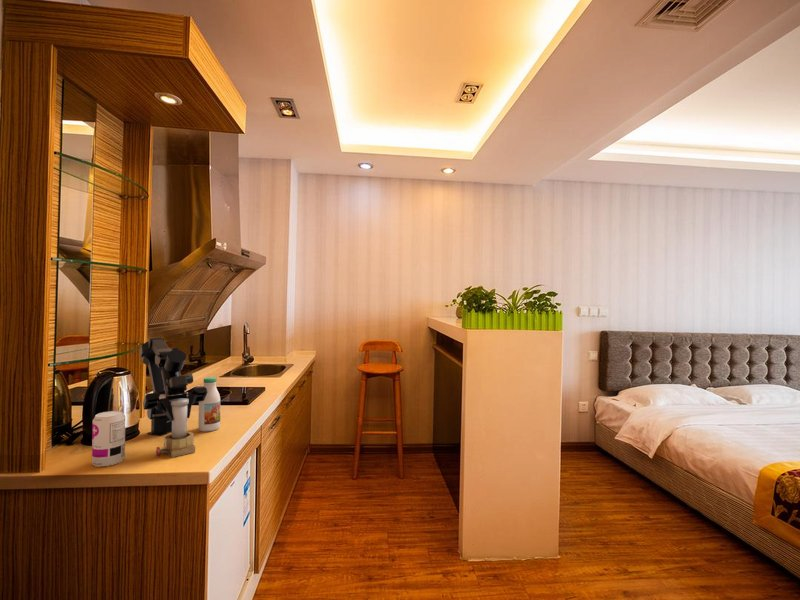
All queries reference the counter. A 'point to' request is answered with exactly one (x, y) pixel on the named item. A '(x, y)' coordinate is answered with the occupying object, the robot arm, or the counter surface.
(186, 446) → the valve body
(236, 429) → the counter surface
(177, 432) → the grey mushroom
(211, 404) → the milk bottle
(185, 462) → the counter surface
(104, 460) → the supplement can
